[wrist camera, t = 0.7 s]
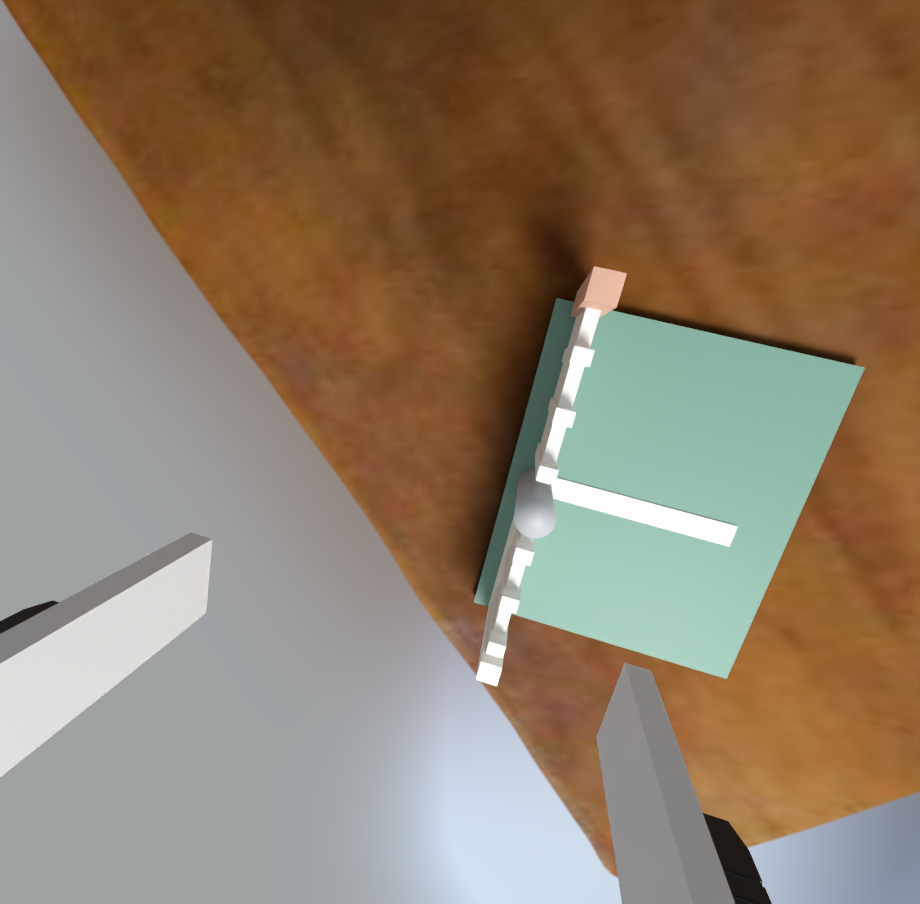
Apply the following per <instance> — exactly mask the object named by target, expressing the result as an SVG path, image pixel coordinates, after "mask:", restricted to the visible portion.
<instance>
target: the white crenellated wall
mask: <svg viewBox="0 0 920 904" xmlns="http://www.w3.org/2000/svg"><path fill="white" fill-rule="evenodd" d="M626 275H627V273H623V272H618V271H614V270H609V269H604V268H600V267H595V266H594V267H593V269H592V270H591V272H590V273H589V275H588V276H587V278H586V279H585V281H584V282H583V284H582V285H581V287H580V288H579V290H578V291H577V294H576V298H575V301H574V305H573V308H572V312H571V315H570V316H571V317H576V320H575V323H574V327H573V330H572V334H571V337H570V341H569V344H568V348H566V349H565V350H564V354H563V357H562V361H561V362H563V365H562V369H561V372H560V376H559V379H558V383H557V386H556V390H555V393H554V397H551V400H550V403H549V407H548V412H549V414H548V418H547V421H546V425H545V428H544V432H543V435H542V439H541V443H538V445H537V449H536V452H535V477H536V481H538V482H541V483H545V484H551V485H555V482H556V479H557V475H558V472H559V469H558V465H557V457H558V454H559V451H560V447H561V444H562V441H563V437H564V434H565V430H566V427H569V428H572V425H573V422H574V418H575V415H576V411H575V410H574V409H573V408H572V407H573V403H574V400H575V397H576V393H577V390H578V387H579V383H580V380H581V376H582V373H583V370H584V367H590V365H591V362H592V358H593V355H594V352H595V350H591V349H590V346H591V343H592V339H593V336H594V333H595V329H596V326H597V323H598V319H599V318H600V317H602V316H603V315H605V314H607V313H608V312H610V311H612V310H613V309H615V308H616V307H617V304H618V301H619V298H620V295H621V291H622V288H623V285H624V281H625V278H626Z"/></svg>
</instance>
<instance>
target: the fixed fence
mask: <svg viewBox="0 0 920 904" xmlns="http://www.w3.org/2000/svg"><path fill="white" fill-rule="evenodd" d="M514 522H515V526H516V529H515V534H514V537H513V541H512V544H511V548H508V551H507V555H506V558H505V566H504V572H503V576H502V579H501V583H500V586H497V590H496V594H495V598H494V601H493V600H491V603H490V607H489V609H488V613H487V619H486V625H485V630H484V636H483V641H482V647H481V653H480V658H479V664H478V670H477V675H476V680H479V681H482V682H485V683H488V684H491V685H494V686H497V684H498V681H499V677H500V674H501V671H502V666H503V656H504V652H505V649H506V643H507V632H508V623H509V619H510V616H511V613H515V614H516V612H517V609H518V605H519V602H520V588H521V579H522V575H523V572H524V569H525V565H528V566H530V565H531V562H532V559H533V555H534V538H542V537H545V536H547V535H548V534H550V533H551V532H552V530H553V529H554V527H555V524H556V513H555V506H554V499H553V493H552V486H551V484H545V483H541V482H538V481H536V477H535V467H530V468H527V469H525V470H524V471H523V472H522V473H521V474H520V476H519V479H518V487H517V496H516V504H515V513H514Z"/></svg>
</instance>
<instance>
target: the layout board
mask: <svg viewBox="0 0 920 904" xmlns="http://www.w3.org/2000/svg"><path fill="white" fill-rule="evenodd" d="M573 305H574V302H572V301H568V300H563V299H559V298H556V302H555V305H554V309H553V313H552V316H551V320H550V324H549V327H548V331H547V335H546V338H545V342H544V346H543V349H542V353H541V357H540V361H539V364H538V368H537V372H536V375H535V379H534V383H533V386H532V390H531V394H530V397H529V401H528V405H527V408H526V412H525V416H524V419H523V423H522V427H521V430H520V434H519V438H518V441H517V445H516V449H515V452H514V456H513V460H512V463H511V467H510V471H509V474H508V478H507V482H506V486H505V489H504V493H503V497H502V500H501V504H500V508H499V511H498V515H497V519H496V522H495V526H494V530H493V533H492V537H491V541H490V544H489V548H488V552H487V555H486V559H485V563H484V566H483V570H482V574H481V577H480V581H479V585H478V588H477V592H476V596H475V600H474V602H475V603H478V604H481V605H484V606H488V607H490V603H491V600H493V601H494V598H495V594H496V590H497V586H500V583H501V579H502V576H503V572H504V566H505V558H506V555H507V551H508V548H511V544H512V541H513V537H514V534H515V529H516V526H515V522H514V513H515V504H516V496H517V487H518V479H519V476H520V474H521V473H522V472H523V471H524V470H525V469H527V468H530V467H535V452H536V449H537V445H538V443H541V439H542V435H543V432H544V428H545V425H546V421H547V418H548V414H549V412H548V407H549V403H550V400H551V397H554V393H555V390H556V386H557V383H558V379H559V376H560V372H561V369H562V365H563V362H561V361H562V357H563V354H564V350H565V349H566V348H568V344H569V341H570V337H571V334H572V330H573V327H574V323H575V320H576V317H571V316H570V315H571V312H572V308H573ZM590 349H591V350H595V352H594V355H593V358H592V362H591V365H590V367H584V370H583V373H582V376H581V380H580V383H579V387H578V390H577V393H576V397H575V400H574V403H573V407H572V408H573V409H574V410H575V411H576V415H575V418H574V422H573V425H572V428H569V427H566V430H565V434H564V437H563V441H562V444H561V447H560V451H559V454H558V457H557V465H558V469H559V472H558V475H557V479H556V482H555V485H551V486H552V493H553V499H554V506H555V513H556V524H555V527H554V529H553V530H552V532H551V533H550V534H548V535H547V536H545V537H542V538H534V555H533V559H532V562H531V565H530V566H528V565H525V569H524V572H523V575H522V579H521V588H520V602H519V605H518V609H517V612H516V614H515V613H511V614H514V615H517V616H521V617H524V618H527V619H531V620H534V621H537V622H541V623H544V624H547V625H550V626H554V627H557V628H560V629H564V630H567V631H570V632H573V633H577V634H580V635H583V636H587V637H590V638H593V639H597V640H600V641H603V642H606V643H610V644H613V645H616V646H620V647H623V648H626V649H630V650H633V651H636V652H639V653H643V654H646V655H649V656H653V657H656V658H659V659H663V660H666V661H669V662H672V663H676V664H679V665H682V666H686V667H689V668H692V669H695V670H699V671H702V672H705V673H709V674H712V675H715V676H719V677H722V678H725V679H727V677H728V675H729V672H730V670H731V668H732V666H733V663H734V661H735V659H736V657H737V654H738V652H739V650H740V648H741V645H742V643H743V641H744V639H745V636H746V634H747V632H748V630H749V627H750V625H751V623H752V621H753V618H754V616H755V614H756V612H757V609H758V607H759V605H760V603H761V600H762V598H763V596H764V594H765V591H766V589H767V587H768V585H769V582H770V580H771V578H772V576H773V573H774V571H775V569H776V567H777V564H778V562H779V560H780V558H781V555H782V553H783V551H784V549H785V546H786V544H787V542H788V540H789V537H790V535H791V533H792V531H793V528H794V526H795V524H796V522H797V519H798V517H799V515H800V513H801V510H802V508H803V506H804V504H805V501H806V499H807V497H808V495H809V492H810V490H811V488H812V486H813V483H814V481H815V479H816V477H817V474H818V472H819V470H820V468H821V465H822V463H823V461H824V459H825V456H826V454H827V452H828V450H829V447H830V445H831V443H832V441H833V438H834V436H835V434H836V432H837V429H838V427H839V425H840V423H841V420H842V418H843V416H844V414H845V411H846V409H847V407H848V405H849V402H850V400H851V398H852V396H853V393H854V391H855V389H856V387H857V384H858V382H859V380H860V378H861V375H862V373H863V371H864V369H865V368H864V367H860V366H855V365H851V364H846V363H842V362H838V361H833V360H829V359H824V358H820V357H816V356H811V355H807V354H802V353H798V352H793V351H789V350H785V349H780V348H776V347H771V346H767V345H762V344H758V343H754V342H749V341H745V340H740V339H736V338H731V337H727V336H723V335H718V334H714V333H709V332H705V331H700V330H696V329H692V328H687V327H683V326H678V325H674V324H670V323H665V322H661V321H656V320H652V319H647V318H643V317H639V316H634V315H630V314H625V313H621V312H616V311H610V312H608V313H607V314H605V315H603V316H602V317H600V318H599V319H598V323H597V326H596V329H595V333H594V336H593V339H592V343H591V346H590Z"/></svg>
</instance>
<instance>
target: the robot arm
mask: <svg viewBox="0 0 920 904" xmlns="http://www.w3.org/2000/svg"><path fill="white" fill-rule="evenodd" d="M211 547H212V539H210V538H207V537H203V536H200V535H196V534H193V533H189V534H188V535H185V536H184V537H182V538H180V539H178V540H176V541H174V542H172V543H171V544H169V545H167V546H165V547H163V548H161V549H159V550H157V551H155V552H154V553H152V554H150V555H148V556H146V557H144V558H142V559H141V560H138V561H137V562H135V563H133V564H131V565H129V566H127V567H125V568H123V569H122V570H120V571H118V572H116V573H114V574H112V575H110V576H108V577H106V578H105V579H103V580H101V581H99V582H97V583H95V584H93V585H91V586H90V587H88V588H86V589H84V590H82V591H80V592H78V593H76V594H74V595H73V596H71V597H69V598H67V599H65V600H63V601H61V602H56V601H50V602H46V603H43V604H40V605H37V606H33V607H30V608H27V609H24V610H22V611H20V612H18V613H16V614H14V615H12V616H10V617H8V618H6V619H4V620H2V621H0V777H1V776H2V775H4V774H5V773H6V772H7V771H8V770H10V769H11V768H12V767H14V766H15V765H16V764H17V763H19V761H21V760H22V759H24V758H25V757H26V756H27V755H28V754H30V753H31V752H32V751H34V750H35V749H36V748H37V747H38V746H40V745H41V744H42V743H44V742H45V741H46V740H47V739H49V738H50V737H51V736H52V735H54V734H55V733H56V732H57V731H59V730H60V729H61V728H62V727H64V726H65V725H66V724H67V723H69V722H70V721H71V720H72V719H74V718H75V717H76V716H77V715H79V714H80V713H81V712H82V711H84V710H85V709H86V708H87V707H89V706H90V705H91V704H93V703H94V702H95V701H96V700H97V699H99V698H100V697H101V696H102V695H104V694H105V693H106V692H107V691H109V690H110V689H111V688H113V687H114V686H115V685H116V684H118V683H119V682H120V681H121V680H123V679H124V678H125V677H126V676H128V675H129V674H130V673H131V672H133V671H134V670H135V669H136V668H138V667H139V666H140V665H141V664H143V663H144V662H145V661H146V660H148V659H149V658H150V657H151V656H153V655H154V654H155V653H156V652H158V651H159V650H160V649H161V648H163V647H164V646H165V645H166V644H168V643H169V642H170V641H171V640H173V638H175V637H176V636H178V634H180V633H181V632H183V631H184V630H185V629H186V628H187V627H189V626H190V625H191V624H193V623H194V622H195V621H196V620H198V619H199V618H200V617H201V616H203V615H204V614H205V613H206V606H207V595H208V583H209V572H210V560H211ZM596 738H597V745H598V751H599V758H600V764H601V770H602V777H603V783H604V790H605V796H606V802H607V809H608V815H609V822H610V828H611V835H612V841H613V847H614V854H615V860H616V867H617V873H618V879H619V886H620V892H621V899H622V904H771V901H770V899H769V896H768V894H767V892H766V889H765V888H764V887H762V880H761V878H760V875H759V873H758V871H757V869H756V866H755V864H754V861H753V859H752V856H751V854H750V852H749V850H748V848H747V847H746V846H745V844H744V843H743V841H742V840H741V839H740V837H739V836H738V834H737V833H736V832H735V830H734V829H733V828H732V826H731V825H730V823H729V822H728V821H725V820H722V819H719V818H716V817H713V816H710V815H707V814H704V813H702V810H701V807H700V804H699V802H698V799H697V796H696V793H695V791H694V788H693V785H692V782H691V779H690V777H689V774H688V771H687V768H686V765H685V763H684V760H683V757H682V754H681V752H680V749H679V746H678V743H677V740H676V738H675V735H674V732H673V729H672V727H671V724H670V721H669V718H668V715H667V713H666V710H665V707H664V704H663V702H662V699H661V696H660V693H659V690H658V688H657V685H656V682H655V679H654V677H653V674H652V671H650V670H647V669H644V668H640V667H637V666H634V665H630V664H627V663H624V666H623V668H622V671H621V674H620V676H619V679H618V682H617V684H616V687H615V690H614V692H613V695H612V698H611V700H610V703H609V705H608V708H607V711H606V713H605V716H604V719H603V721H602V724H601V727H600V729H599V732H598V735H597V737H596Z"/></svg>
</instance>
